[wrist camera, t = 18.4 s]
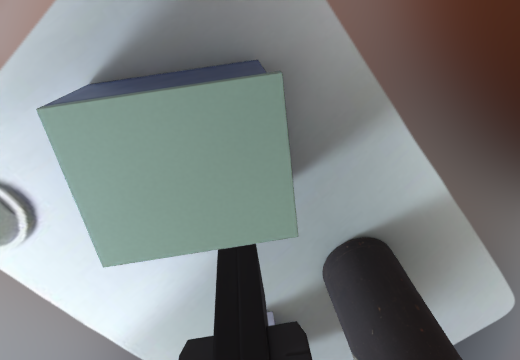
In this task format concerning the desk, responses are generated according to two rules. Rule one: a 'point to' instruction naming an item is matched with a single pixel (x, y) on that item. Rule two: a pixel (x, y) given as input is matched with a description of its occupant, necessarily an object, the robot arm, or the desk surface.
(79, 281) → the desk surface
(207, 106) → the case lid
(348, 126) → the desk surface
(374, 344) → the container
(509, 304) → the desk surface
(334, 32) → the desk surface
